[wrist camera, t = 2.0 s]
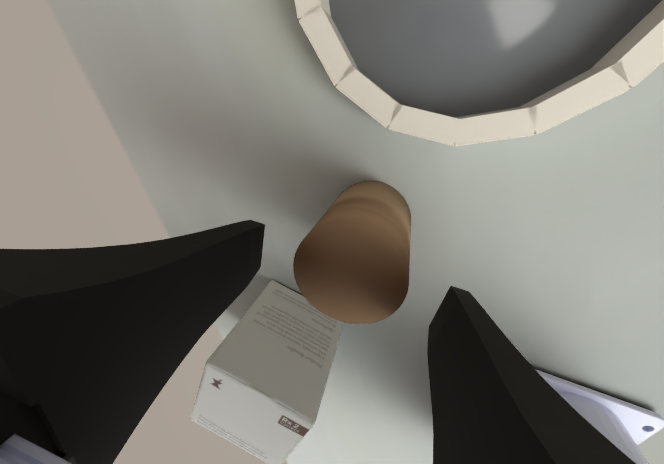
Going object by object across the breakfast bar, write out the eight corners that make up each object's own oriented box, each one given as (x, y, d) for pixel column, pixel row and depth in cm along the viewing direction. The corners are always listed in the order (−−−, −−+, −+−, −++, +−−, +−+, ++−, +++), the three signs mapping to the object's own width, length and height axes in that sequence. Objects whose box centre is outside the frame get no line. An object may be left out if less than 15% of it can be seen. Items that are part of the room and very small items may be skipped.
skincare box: (251, 329, 22) (185, 420, 16) (272, 276, 19) (201, 362, 13) (317, 365, 22) (276, 474, 15) (348, 317, 19) (314, 427, 12)
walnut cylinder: (396, 262, 16) (387, 338, 11) (326, 240, 17) (286, 301, 12) (422, 194, 14) (427, 247, 9) (342, 171, 15) (302, 207, 10)
